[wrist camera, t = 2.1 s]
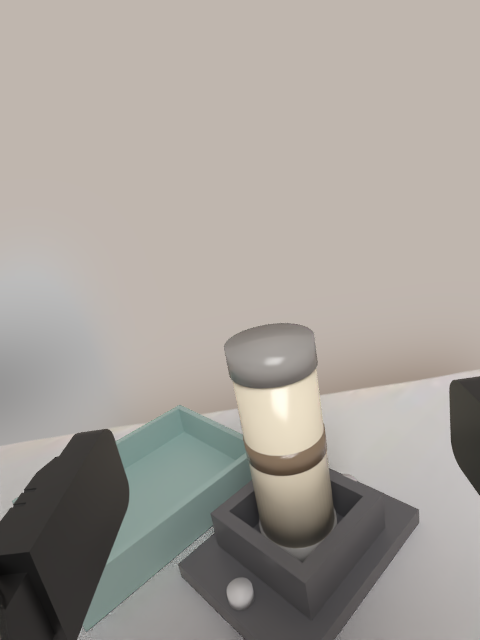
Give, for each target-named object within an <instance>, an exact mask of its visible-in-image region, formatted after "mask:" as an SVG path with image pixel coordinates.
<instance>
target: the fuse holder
mask: <svg viewBox="0 0 480 640" xmlns="http://www.w3.org/2000/svg"><path fill="white" fill-rule="evenodd" d="M329 474H330V482H331V490H332V498H333V506H334V509H335V511H336V516H337V525H336V527H335V528H334V529H333V530H332V531H331V532H330V533H329V534H328V535H327V537H326V538H325V539H324V540H323V541H322V542H321V543H320V544H319V545H318V546H317V548H316V549H315V550H314V551H313V552H312V553H311V554H310V555H309V556H308V557H307V559H306V560H305V561H304V562H303V563H302V562H301V561H299V560H298V559H296V558H295V557H294V556H292V555H291V554H289V553H288V552H286V551H285V550H284V549H282V548H281V547H279V546H278V545H276V544H275V543H274V542H272V541H271V540H269V539H268V538H266V537H265V536H264V535H262V534H261V531H260V526H259V512H258V507H257V502H256V497H255V492H254V487H253V482H252V480H251V481H250V482H248V483H247V484H246V485H245V486H243V487H242V488H241V489H240V490H239V491H237V492H236V493H235V494H234V495H232V496H231V497H230V498H229V499H228V500H226V501H225V502H224V503H223V504H221V505H220V506H219V507H218V508H216V509H215V510H214V511H213V512H212V513H210V514H211V518H212V522H213V526H214V531H215V533H214V534H213V535H212V536H211V537H210V538H208V539H207V540H206V541H205V542H204V543H203V544H201V545H200V546H199V547H198V548H197V549H196V550H194V551H193V552H192V553H191V554H190V555H189V556H187V557H186V558H185V559H184V560H183V561H182V562H180V563H179V564H178V565H179V568H180V571H181V575H182V577H183V578H184V579H185V580H186V581H187V582H188V583H189V584H190V585H191V586H192V587H193V588H194V589H195V590H196V591H197V592H198V593H199V594H200V595H201V596H202V597H203V598H204V599H205V600H206V601H207V602H208V603H209V604H210V605H211V606H212V607H213V608H214V609H215V610H216V611H217V612H218V613H219V614H220V615H221V616H222V617H223V618H224V619H225V620H226V621H227V622H228V623H229V624H230V625H231V626H232V627H233V628H234V629H235V630H236V631H237V632H238V633H239V634H240V635H241V636H242V637H243V638H244V639H245V640H334V639H335V638H336V636H337V635H338V634H339V632H340V631H341V630H342V628H343V627H344V625H345V624H346V623H347V621H348V620H349V618H350V617H351V616H352V614H353V613H354V612H355V610H356V609H357V607H358V606H359V605H360V603H361V602H362V601H363V599H364V598H365V596H366V595H367V594H368V592H369V591H370V589H371V588H372V587H373V585H374V584H375V583H376V581H377V580H378V578H379V577H380V576H381V574H382V573H383V572H384V570H385V569H386V567H387V566H388V565H389V563H390V562H391V560H392V559H393V558H394V556H395V555H396V554H397V552H398V551H399V549H400V548H401V547H402V545H403V544H404V543H405V541H406V540H407V538H408V537H409V536H410V534H411V533H412V531H413V530H414V529H415V527H416V526H417V525H418V523H419V510H418V509H416V508H414V507H412V506H410V505H408V504H405V503H403V502H401V501H399V500H397V499H395V498H392V497H390V496H388V495H386V494H384V493H382V492H379V491H377V490H375V489H373V488H371V487H369V486H366V485H364V484H362V483H360V482H358V481H356V478H355V477H353V476H352V475H348V474H341V473H338V472H336V471H334V470H332V469H330V468H329Z"/></svg>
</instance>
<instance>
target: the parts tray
mask: <svg viewBox="0 0 480 640" xmlns="http://www.w3.org/2000/svg"><path fill="white" fill-rule="evenodd" d="M116 445H117V448H118V451H119V454H120V457H121V461H122V464H123V467H124V470H125V473H126V476H127V479H128V483H129V504H128V508H127V511H126V514H125V516H124V519H123V522H122V524H121V527H120V529H119V532H118V534H117V537H116V540H115V542H114V545H113V547H112V550H111V553H110V555H109V558H108V560H107V563H106V565H105V568H104V571H103V573H102V576H101V578H100V581H99V584H98V586H97V589H96V591H95V594H94V597H93V599H92V602H91V604H90V607H89V609H88V612H87V615H86V617H85V620H84V622H83V625H82V626H83V627H84V629H85V630H86V632H87V631H88V630H89V629H90V628H92V627H93V626H94V625H95V624H96V623H97V622H99V621H100V620H101V619H102V618H103V617H105V616H106V615H107V614H108V613H109V612H111V611H112V610H113V609H114V608H115V607H117V606H118V605H119V604H120V603H121V602H122V601H124V600H125V599H126V598H127V597H128V596H130V595H131V594H132V593H133V592H134V591H136V590H137V589H138V588H139V587H140V586H141V585H143V584H144V583H145V582H146V581H147V580H149V579H150V578H151V577H152V576H153V575H155V574H156V573H157V572H158V571H159V570H161V569H162V568H163V567H164V566H165V565H166V564H168V563H169V562H170V561H171V560H172V559H174V558H175V557H176V556H177V555H178V554H180V553H181V552H182V551H183V550H184V549H185V548H187V547H188V546H189V545H190V544H191V543H193V542H194V541H195V540H196V539H197V538H199V537H200V536H201V535H202V534H203V533H205V532H206V531H207V530H208V529H209V528H210V527H212V526H213V522H212V518H211V514H210V513H212V512H213V511H214V510H215V509H216V508H218V507H219V506H220V505H221V504H223V503H224V502H225V501H226V500H228V499H229V498H230V497H231V496H232V495H234V494H235V493H236V492H237V491H239V490H240V489H241V488H242V487H243V486H245V485H246V484H247V483H248V482H250V481H251V480H252V477H251V472H250V467H249V462H248V460H247V456H246V451H245V446H244V441H243V435H242V434H240V433H238V432H236V431H234V430H232V429H229V428H227V427H225V426H223V425H221V424H219V423H217V422H215V421H213V420H211V419H209V418H206V417H204V416H202V415H200V414H198V413H196V412H194V411H192V410H190V409H188V408H185V407H183V406H181V405H179V406H177V407H175V408H173V409H171V410H170V411H168V412H166V413H165V414H163V415H161V416H159V417H157V418H156V419H154V420H152V421H150V422H149V423H147V424H145V425H144V426H142V427H140V428H138V429H137V430H135V431H133V432H131V433H130V434H128V435H126V436H124V437H123V438H121V439H119V440H117V441H116ZM17 499H18V498H16V499H14V500H13V501H12V502H13V504H14V503H15V501H16V500H17Z"/></svg>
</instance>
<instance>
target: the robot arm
mask: <svg viewBox="0 0 480 640" xmlns="http://www.w3.org/2000/svg"><path fill="white" fill-rule="evenodd" d="M449 393H450V428H451V444H452V449H453V453H454V456H455V459H456V461H457V463H458V465H459V467H460V468H461V470H462V471H463V473H464V474H465V476H466V477H467V478H468V480H469V481H470V483H471V484H472V485H473V487H474V488H475V490H476V491H477V492H478V494H479V495H480V376H479V377H472V378H465V379H458V380H453V381H452V382H451V384H450V391H449ZM128 504H129V483H128V479H127V476H126V473H125V470H124V467H123V464H122V461H121V457H120V454H119V451H118V448H117V445H116V442H115V439H114V436H113V434H112V432H111V431H110V430H108V429H102V430H95V431H88V432H81V433H77V434H75V435H74V436H73V437H72V439H71V440H70V442H69V443H68V444H67V446H66V447H65V449H64V450H63V452H62V453H61V454H60V456H59V457H55V458H54V459H53V460H52V461H50V462H49V463H48V464H47V465H45V466H44V467H43V468H42V469H41V470H39V471H38V472H37V473H36V474H35V476H34V477H33V478H32V480H31V481H30V482H29V484H28V485H27V486H26V488H25V489H24V493H21V494H20V496H19V497H18V499H17V500H16V501H15V503H14V504H13V505H14V506H13V508H10V509H9V511H8V512H7V513H6V515H5V516H4V517H3V519H2V520H1V521H0V640H77V638H78V635H79V633H80V630H81V628H82V625H83V622H84V620H85V617H86V615H87V612H88V609H89V607H90V604H91V602H92V599H93V597H94V594H95V591H96V589H97V586H98V584H99V581H100V578H101V576H102V573H103V571H104V568H105V565H106V563H107V560H108V558H109V555H110V553H111V550H112V547H113V545H114V542H115V540H116V537H117V534H118V532H119V529H120V527H121V524H122V522H123V519H124V516H125V514H126V511H127V508H128Z"/></svg>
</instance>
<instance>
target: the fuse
mask: <svg viewBox="0 0 480 640" xmlns="http://www.w3.org/2000/svg"><path fill="white" fill-rule="evenodd" d="M224 350H225V356H226V360H227V365H228V370H229V375H230V378H231V379H232V380H233V385H234V390H235V395H236V400H237V406H238V411H239V416H240V421H241V426H242V431H243V441H244V446H245V451H246V456H247V460H248V462H249V467H250V472H251V477H252V482H253V487H254V492H255V497H256V502H257V507H258V512H259V526H260V531H261V534H262V535H264V536H265V537H266V538H268V539H269V540H271V541H272V542H274V543H275V544H276V545H278V546H279V547H281V548H282V549H284V550H285V551H286V552H288V553H289V554H291V555H292V556H294V557H295V558H296V559H298V560H299V561H301V562H302V563H303V562H304V561H305V560H306V559H307V557H308V556H309V555H310V554H311V553H312V552H313V551H314V550H315V549H316V548H317V546H318V545H319V544H320V543H321V542H322V541H323V540H324V539H325V538H326V537H327V535H328V534H329V533H330V532H331V531H332V530H333V529H334V528H335V527H336V525H337V516H336V511H335V509H334V506H333V498H332V490H331V482H330V474H329V466H328V458H327V443H326V435H325V427H324V423H323V418H322V410H321V402H320V394H319V387H318V379H317V370H316V367H317V354H316V346H315V338H314V333H313V331H312V330H311V329H309V328H308V327H305V326H302V325H298V324H289V323H279V324H268V325H263V326H258V327H254V328H250V329H247V330H245V331H242V332H240V333H238V334H236V335H234V336H233V337H231V338H230V339H229V340H228V341H227V342H226V343H225V345H224Z"/></svg>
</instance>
